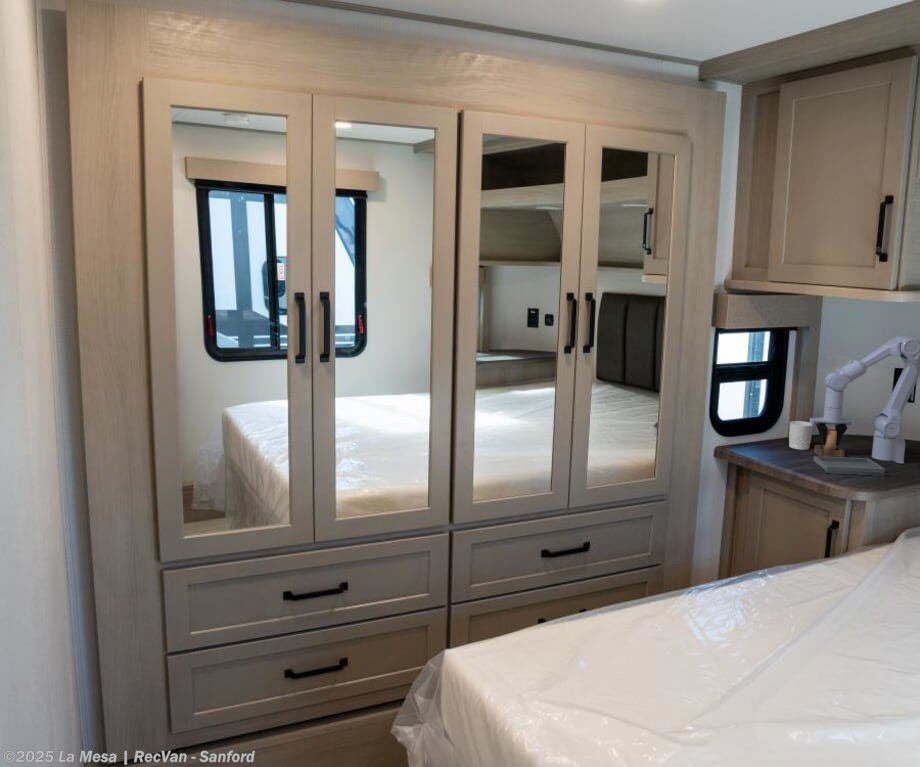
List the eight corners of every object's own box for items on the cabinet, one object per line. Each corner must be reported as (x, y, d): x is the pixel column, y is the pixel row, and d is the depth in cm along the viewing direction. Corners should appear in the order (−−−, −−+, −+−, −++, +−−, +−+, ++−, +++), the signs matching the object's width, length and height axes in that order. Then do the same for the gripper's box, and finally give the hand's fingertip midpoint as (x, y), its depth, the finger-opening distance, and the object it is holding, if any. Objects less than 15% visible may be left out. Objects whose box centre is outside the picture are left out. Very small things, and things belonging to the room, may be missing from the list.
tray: (867, 465, 263) (868, 458, 262) (884, 476, 250) (884, 469, 250) (813, 463, 265) (813, 456, 264) (826, 474, 252) (827, 466, 252)
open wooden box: (835, 455, 276) (836, 445, 275) (843, 460, 268) (844, 451, 267) (813, 454, 276) (814, 445, 276) (821, 460, 269) (822, 450, 268)
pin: (832, 453, 274) (835, 429, 272) (836, 456, 270) (839, 431, 268) (820, 453, 274) (823, 428, 273) (824, 456, 270) (827, 431, 269)
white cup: (812, 453, 278) (815, 426, 276) (789, 451, 280) (792, 425, 278) (807, 447, 286) (810, 421, 284) (785, 446, 287) (787, 420, 286)
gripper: (850, 405, 272) (846, 442, 274) (808, 404, 274) (804, 440, 276) (858, 409, 265) (854, 447, 268) (814, 408, 267) (811, 445, 269)
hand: (829, 444), depth 271 cm, fingers closed on pin, 4 cm apart
